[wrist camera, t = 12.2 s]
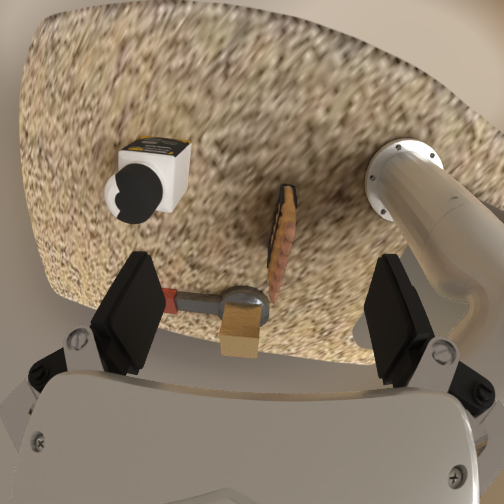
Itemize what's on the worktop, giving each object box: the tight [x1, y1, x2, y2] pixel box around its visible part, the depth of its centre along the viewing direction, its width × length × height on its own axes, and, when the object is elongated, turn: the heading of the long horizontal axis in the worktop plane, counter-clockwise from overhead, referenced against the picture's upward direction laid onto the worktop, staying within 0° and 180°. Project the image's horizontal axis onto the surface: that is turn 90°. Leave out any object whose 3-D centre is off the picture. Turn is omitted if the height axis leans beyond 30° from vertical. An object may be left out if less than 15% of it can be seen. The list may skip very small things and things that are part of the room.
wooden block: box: [219, 302, 262, 358], centre depth 45 cm, size 6×6×7 cm
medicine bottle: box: [104, 136, 192, 224], centre depth 30 cm, size 7×7×12 cm
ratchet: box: [162, 286, 269, 327], centre depth 48 cm, size 26×9×6 cm, turn 89°
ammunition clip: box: [267, 184, 297, 304], centre depth 34 cm, size 11×2×12 cm, turn 172°
